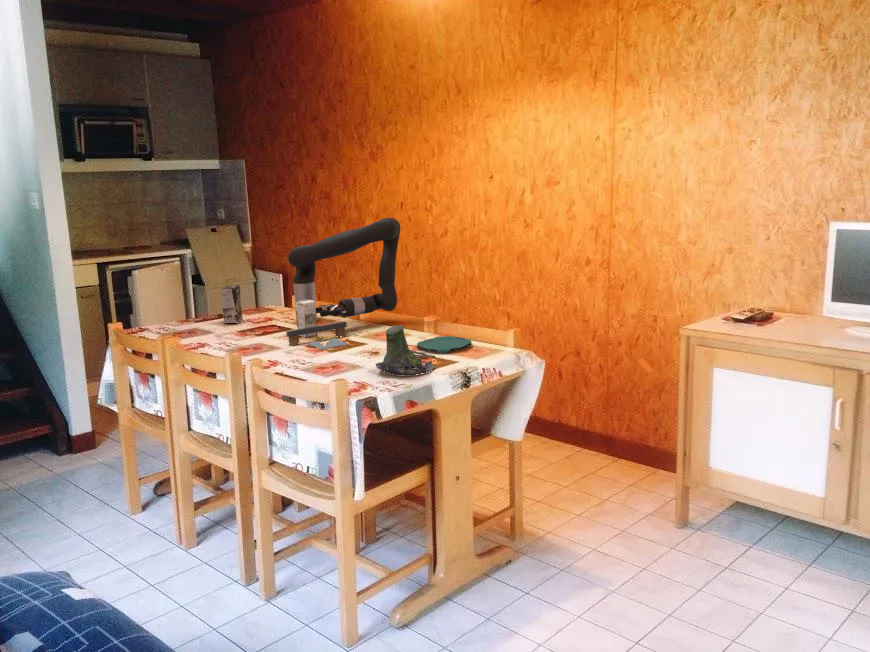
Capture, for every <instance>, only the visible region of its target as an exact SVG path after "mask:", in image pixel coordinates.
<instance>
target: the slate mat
mask: <svg viewBox="0 0 870 652" xmlns="http://www.w3.org/2000/svg"><path fill="white" fill-rule="evenodd" d="M326 340H327V341H329V342H327V343H326V347H324V345H322V343H321V341H322V342H323V341H324V340H319V341H313V342H307V345H308V344H310V345H312V346H314V347H317V348H319V349H325V348H331V347H337V346H342V347H345V346H344V345H348V346H350V343H348V342H346V341H343V340H340V339H338V338H337V337H336V338H330V339H326ZM320 343H321V344H320ZM323 344H324V343H323ZM310 345H309V346H310ZM312 346H311V347H312ZM314 347H313V348H314ZM337 348H338V347H337ZM319 349H318V350H319ZM331 349H332V348H331Z"/></svg>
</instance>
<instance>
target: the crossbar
mask: <svg viewBox="0 0 870 652" xmlns="http://www.w3.org/2000/svg"><path fill="white" fill-rule="evenodd" d="M347 324H348V323H347V322H346V321H340V322H334V323H328V324H322V325H317V326H315V327H308V328H302V329H298V328H297V329H290V330H286V331H285V334H286V337H288V338H289V337H292V336H298V335H304V334H310V333H316V332H317V333H320V332H322V333H323V332H327V331H328V332H329V331H332V330H334V331H335V329H340V328H345V329H346V328H347V326H348V325H347Z"/></svg>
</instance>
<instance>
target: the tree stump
mask: <svg viewBox="0 0 870 652" xmlns="http://www.w3.org/2000/svg"><path fill="white" fill-rule="evenodd" d="M385 335H386V336H385V337H386V351H385V352H386V353H385V355H384V357H383V361H381V362H376V363H375V368H376V369H379V370H381V371H382V372H383V371H385V372H384V373H386V372H388V373H387V374H389V373H391V374H390V375H392V374H394V375H393V376H395V375H416V374H421V373H426V372H429V371H431V370H432V369H434V368H435V369H436V367H435V364H433V361H432V360H430V361H423V360H421V361H420V360H419V359H418V358H419V357H418V356H415V355H416V353H413V352H411V351H412V350H411V349H410V348H409V344H408V342H407V339H406V335H405V330H404V326H403V325H400V324H399V325H393V326H391V327H389V328H387V330H386V331H385ZM410 350H411V351H410ZM422 363H425V365H423V364H422ZM431 372H432V371H431Z"/></svg>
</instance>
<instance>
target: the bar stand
mask: <svg viewBox="0 0 870 652" xmlns="http://www.w3.org/2000/svg"><path fill="white" fill-rule="evenodd" d="M334 333H335V337H336V336H338V337H337V338H341V337H340V336H345V337H347V336H346V328H340V329H334ZM299 337H300V336H292V337H288V344H289V343H290V344H298V343H299V344H300V338H299ZM290 344H289V345H290Z"/></svg>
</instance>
